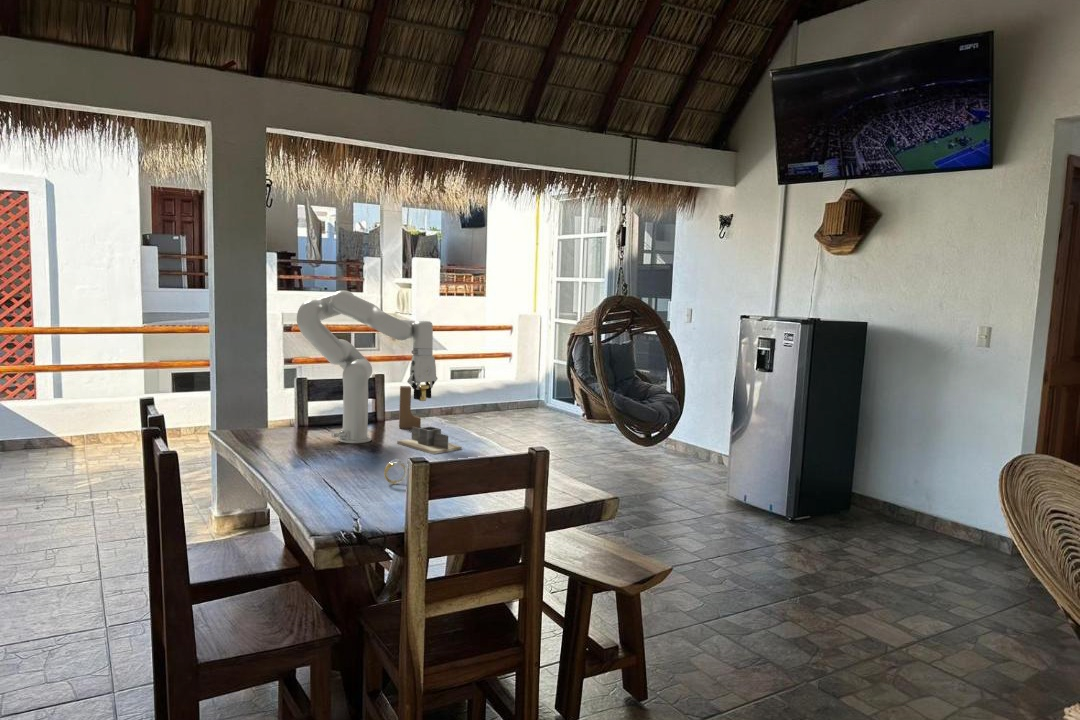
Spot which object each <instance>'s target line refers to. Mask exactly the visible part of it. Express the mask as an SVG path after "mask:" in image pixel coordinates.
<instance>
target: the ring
mask: <svg viewBox="0 0 1080 720" xmlns="http://www.w3.org/2000/svg"><path fill="white" fill-rule="evenodd" d="M402 461H403V460H402V459H399V458H394V459H391V461H389V462H387V464H386V466H385V468H384V471H383V474H384V478H385V480H386V481H387V482H389V483H390V484H392V485H393V484H394V485H397V484H400V483H402V482H403V481H405V479H406V478H407V475H408V469H407V466H406V464H405V463H403V462H402ZM395 465H400V466H401V467H402V468H403V470H404V473H403V477H402V478H400V479H399V480H396V479H395V480H391V479H390V478H389V477H388V471H389V469H391V468H392V467H393V466H395Z"/></svg>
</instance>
